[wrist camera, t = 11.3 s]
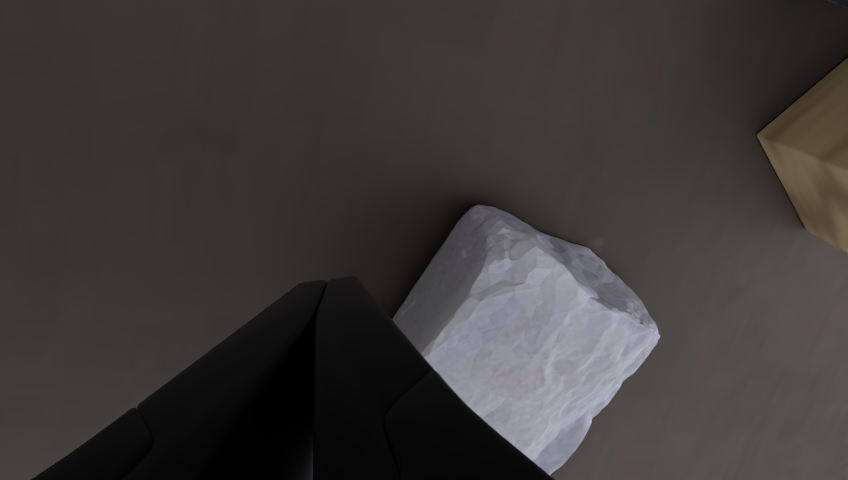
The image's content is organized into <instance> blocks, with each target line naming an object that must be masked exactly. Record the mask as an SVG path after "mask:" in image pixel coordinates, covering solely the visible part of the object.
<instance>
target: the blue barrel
mask: <svg viewBox="0 0 848 480" xmlns="http://www.w3.org/2000/svg"><path fill="white" fill-rule="evenodd" d="M823 1H828V2H832V3H835V4H837V5H839V6H844V7H848V0H823Z"/></svg>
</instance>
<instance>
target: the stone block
mask: <svg viewBox="0 0 848 480" xmlns="http://www.w3.org/2000/svg"><path fill="white" fill-rule="evenodd" d="M392 320H393V321H394V323H395V324H396V325H397V326H398V327H399V328H400V330H401V331H402V332H403V333H404V334H405V336H406V337H407V338H408V339H409V340H410V341H411V343H412V344H413V345H414V346H415V347H416V349H417V350H418V351H419V352H420V353H421V354H422V356H423V357H424V358H425V359H426V360H427V362H428V363H429V364H430V365H431V366H432V367H433V369H434V370H435V371H437V372H438V373H439V375H440V376H441V377H442V378H443V379H444V380H445V382H446V383H447V384H448V385H449V386H450V387H451V388H452V389H453V391H454V392H455V393H456V394H457V395H458V396H459V397H460V398H461V399H462V400H463V401H464V402H465V403H466V404H467V405H468V406H469V407H470V408H471V409H472V410H473V411H474V412H475V413H476V414H478V415H479V416H480V417H481V418H482V419H483V420H484V421H485V422H487V423H488V424H489V425H490V426H491V427H492V428H493V429H495V430H496V431H497V432H498V433H499V434H501V435H502V436H503V437H504V438H505V439H507V440H508V441H509V442H510V443H511V444H513V445H514V446H515V447H516V448H517V449H519V450H520V451H521V452H522V453H523V454H525V455H526V456H527V457H528V458H530V459H531V460H532V461H533V462H534V463H536V464H537V465H538V466H539V467H540V468H542V469H543V470H544V471H545V472H546V473H548V474H549V475H551V474H552V472H554V471H555V470H557V469H558V468H560V467H561V466H562V465H563V464H564V463H565V462H566V460H567V459H568V458H569V457H570V456H571V455H572V454H573V452H574V451H575V450H576V449H577V447H578V446H579V444H580V443H581V442H582V440H583V439H584V437H585V435H586V433H587V431H588V429H589V427H590V425H591V422H592V418H593V417H594V416H596V415H597V414H598V413H599V412H600V411H601V409H603V408H604V407H605V406H606V405H607V404H608V403H609V402H610V400H611V399H612V397H613V396H614V395H615V393H616V392H617V391H618V390H619V388H620V386H621V384H622V382H623V381H624V380H625V379H626V378H628V377H629V376H630V375H632V374H633V373H634V372H635V371H636V370H637V369H638V367H639V366H640V365H641V364H642V363H643V361H644V360H645V359H646V358H647V356H648V355H649V354H650V352H651V350H652V349H653V347H654V346H655V345H656V344H657V341H658V339H659V338H660V335H659V334H658V333H659V332H658V329H657V324H656V323H655V322H654V321H653V319H652V318H651V317H650V316H649V314H648V312H647V310H646V309H645V306H644V304H643V302H642V301H641V300H640V299H639V298H638V296H637V295H636V294H635V293H634V292H633V290H632V289H631V288H629V287H628V286H627V285H626V284H625V283H624V282H623V281H622V280H621V279H620V278H619V277H618V276H617V275H616V274H614V273H613V272H612V271H611V270H610V269H609V268H608V267H607V266H606V264H605V262H604V261H603V260H602V259H600V258H599V257H598V256H596V255H595V254H594V253H593V252H592V251H591V250H590V249H589V248H587V247H584V246H581V245H579V244H573V243H569V242H567V241H564V240H562V239H559V238H557V237H552V236H549V235H547V234H544V233H542V232H540V231H537V230H535V229H534V228H532V227H531V226H530V225H529V224H527V223H525V222H522V221H521V220H519V219H518V218H516V217H515V216H513V215H511V214H509V213H507V212H505V211H502V210H499V209H497V208H496V207H490V206H485V205H476V206H474V207H472V208H470V209H469V210H468V211H467V212H466V213H465V214H464V216H463V217H462V218H461V219H460V220H459V221H458V222H457V224H456V225H455V227H454V228H453V230H452V231H451V233H450V234H449V236H448V237H447V239H446V240H445V242H444V243H443V245H442V246H441V248H440V249H439V250H438V252H437V253H436V254H435V256H434V258H433V259H432V261H431V262H430V264H429V265H428V267H427V268H426V270H425V271H424V273H423V274H422V276H421V277H420V278H419V280H418V281H417V283H416V284H415V286H414V287H413V288H412V290H411V291H410V293H409V295H408V296H407V298H406V300H405V301H404V303H403V304H402V306H401V307H400V308H399V310H398V311H397V313H396V314H395V316H394V317H393V319H392Z"/></svg>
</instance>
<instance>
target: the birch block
mask: <svg viewBox="0 0 848 480" xmlns="http://www.w3.org/2000/svg"><path fill="white" fill-rule="evenodd" d="M757 137H758V139H759V141H760V143H761V145H762V147H763V149H764V151H765V152H766V154H767V156H768V158H769V160H770V162H771V164H772V166H773V168H774V169H775V171H776V173H777V175H778V177H779V179H780V181H781V183H782V185H783V187H784V188H785V190H786V192H787V194H788V196H789V198H790V200H791V202H792V204H793V205H794V207H795V209H796V211H797V213H798V215H799V217H800V219H801V221H802V222H803V224H804V226H805V228H806V230H807V231H808V232H810V233H811V234H813V235H815V236H817V237H819V238H821V239H823V240H824V241H826V242H828V243H830V244H832V245H834V246H836V247H837V248H839V249H841V250H843V251H845V252H847V253H848V58H847V59H845V60H844V61H843V62H842V63H841V64H839V65H838V66H837V67H836V68H835V69H834V70H832V71H831V72H830V73H829V74H828V75H826V76H825V77H824V78H823V79H822V80H821V81H819V82H818V83H817V84H816V85H815V86H813V87H812V88H811V89H810V90H809V91H808V92H806V93H805V94H804V95H803V96H802V97H800V98H799V99H798V100H797V101H796V102H795V103H793V104H792V105H791V106H790V107H789V108H787V109H786V110H785V111H784V112H783V113H781V114H780V115H779V116H778V117H777V118H776V119H774V120H773V121H772V122H771V123H770V124H768V125H767V126H766V127H765V128H764V129H763V130H761V131H760V132H759V133H758V134H757Z"/></svg>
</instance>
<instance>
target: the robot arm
mask: <svg viewBox="0 0 848 480" xmlns="http://www.w3.org/2000/svg"><path fill="white" fill-rule="evenodd" d="M137 408H138V409H137ZM137 408H131V409H130V410H129V411H127V412H126V413H125V414H123V415H122V416H121V417H119V418H118V419H117V420H116V421H114V422H113V423H112V424H110V425H109V426H108V427H106V428H105V429H103V430H102V431H101V432H99V433H98V434H96V435H95V436H94V437H92V438H91V439H90V440H88V441H87V442H85V443H84V444H83V445H81V446H80V447H78V448H77V449H76V450H74V451H73V452H72V453H70V454H69V455H67V456H66V457H64V458H63V459H61V460H60V461H58V462H57V463H55V464H54V465H52V466H51V467H49V468H48V469H46V470H45V471H43V472H42V473H40V474H39V475H37V476H36V477H34V478H33V479H31V480H555V479H554V478H552V477H551V476H550V475H549V474H548V473H546V472H545V471H544V470H543V469H542V468H540V467H539V466H538V465H537V464H536V463H534V462H533V461H532V460H531V459H530V458H528V457H527V456H526V455H525V454H523V453H522V452H521V451H520V450H519V449H517V448H516V447H515V446H514V445H513V444H511V443H510V442H509V441H508V440H507V439H505V438H504V437H503V436H502V435H501V434H499V433H498V432H497V431H496V430H495V429H493V428H492V427H491V426H490V425H489V424H488V423H487V422H485V421H484V420H483V419H482V418H481V417H480V416H479V415H478V414H476V413H475V412H474V411H473V410H472V409H471V408H470V407H469V406H468V405H467V404H466V403H465V402H464V401H463V400H462V399H461V398H460V397H459V396H458V395H457V394H456V393H455V392H454V391H453V389H452V388H451V387H450V386H449V385H448V384H447V383H446V382H445V380H444V379H443V378H442V377H441V376H440V375H439V373H438V372H437V371H435V370H434V369H433V367H432V366H431V365H430V364H429V363H428V362H427V360H426V359H425V358H424V357H423V356H422V354H421V353H420V352H419V351H418V350H417V349H416V347H415V346H414V345H413V344H412V343H411V341H410V340H409V339H408V338H407V337H406V336H405V334H404V333H403V332H402V331H401V330H400V328H399V327H398V326H397V325H396V324H395V323H394V321H393V320H392V319H391V318H390V317H389V315H388V314H387V313H386V312H385V311H384V310H383V308H382V307H381V306H380V305H379V304H378V302H377V301H376V300H375V299H374V298H373V297H372V295H371V294H370V293H369V292H368V291H367V289H366V288H365V287H364V286H363V285H362V284H361V282H360V281H359V280H358V279H357V278H356V277H344V278H336V279H331V280H330V281H329V282H328V283H327V282H326V281H324V280H320V281H311V282H303V283H300V284H298V285H297V286H295V287H294V288H293V289H291V290H290V291H289V292H287V293H286V294H285V295H283V296H282V297H281V298H279V299H278V300H277V301H275V302H274V303H273V304H271V305H270V306H269V307H267V308H266V309H265V310H263V311H262V312H261V313H259V314H258V315H257V316H255V317H254V318H253V319H251V320H250V321H249V322H247V323H246V324H245V325H243V326H242V327H241V328H239V329H238V330H237V331H235V332H234V333H233V334H231V335H230V336H229V337H227V338H226V339H225V340H224V341H222V342H221V343H220V344H218V345H217V346H216V347H214V348H213V349H212V350H210V351H209V352H208V353H206V354H205V355H204V356H202V357H201V358H200V359H198V360H197V361H196V362H194V363H193V364H192V365H190V366H189V367H188V368H186V369H185V370H184V371H182V372H181V373H180V374H178V375H177V376H176V377H174V378H173V379H172V380H170V381H169V382H168V383H166V384H165V385H164V386H162V387H161V388H160V389H158V390H157V391H156V392H154V393H153V394H152V395H150V396H149V397H148V398H146V399H145V400H144V401H142V402H141V403H140V404H139V405H138V407H137Z"/></svg>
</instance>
